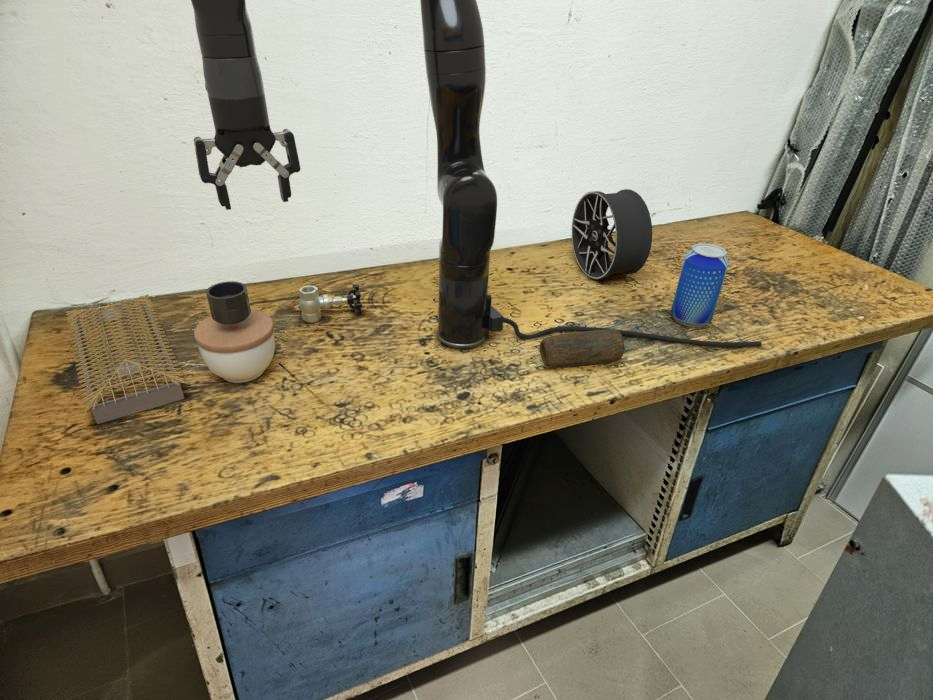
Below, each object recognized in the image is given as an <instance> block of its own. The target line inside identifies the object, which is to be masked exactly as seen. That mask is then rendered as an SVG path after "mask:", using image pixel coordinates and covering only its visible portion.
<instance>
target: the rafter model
mask: <svg viewBox="0 0 933 700" xmlns="http://www.w3.org/2000/svg"><path fill="white" fill-rule="evenodd" d="M124 300H125V301H122V302H116V303H112V304H110V303H109V302H107V305H103V306H101V304H99V305H98V307H93V308H92V306H90V307H89V308H84V309H83V308H82V307H81V309H72V310H69V311H65V313H66V314H65V315H66V316H67V317H66V321H67V323H66V324H67V327H69V328H68V330H69V331H68V333H69V334H70V335H69V337H71V338H70V341H71V342H70V343H71V344H72V345H71V347H72V348H73V349H72V352H73V355H75V356H74V357H73V359H76V360H74V363H77V364H75V367H77V368H76V371H79V372H77V373H76V375H77V376H78V377H77V379H78V380H80V379H81V380H80V381H78V384H81V385H79V386H78V387H79V388H82V389H80V393H82V392H84V393H82V394H81V395H80V396H81V397H83V398H82V399H81V402H82V404H85V403H86V404H85V405H84V406H83V409H84V413H86V412H88V411H89V410H91V412H92V415H93V417H94V419H95V422H96V424H97V425H99V424H102V423H106V422H110V421H113V420H116V419H120V418H123V417H127V416H131V415H134V414H137V413H141V412H143V411H146V410H147V411H148V410H151V409H154V408H157V407H161V406H164V405H168V404H170V403H174V402H177V401H181V400H184V399H185V396H184V395H185V394H184V392H183V389H182V385H181V383H182V384H185V385H186V384H188V382H187V381H186V378H185V377H182V376H184V374H183V371H179V370H182V368H181V367H179V366H180V364H179V363H178V360H173V359H177V358H176V356H173V355H175V353H174V352H173V348H171V346H172V345H169V344H170V341H169V338H165V337H167V335H166V334H165V333H166V332H165V331H163V330H164V328H163V325H162V324H161V321H160V319H159V318H158V317H159V316H158V315H157V312H156V309H154V308H155V307H154V306H153V303H152V300H151V299H150V296H149V294H144V295H140V296H138V297H133V298H132V299H129V300H127V299H126V298H124ZM137 336H138V337H137ZM111 343H112V344H111ZM139 343H140V344H139ZM160 351H161V352H160ZM144 354H145V355H144ZM105 360H106V361H105ZM106 364H107V365H106ZM79 375H80V376H79ZM151 378H153V379H152V380H151ZM159 380H163V381H165V382H166V384H164V385H161V386H158V384H157V381H159ZM152 382H154V384H155V386H156V387H154V388H150V389H148V388H147V384H149V383H152ZM168 382H171V383H168ZM82 383H83V384H82ZM134 383H137V384H134ZM131 384H132V385H131ZM128 385H129V386H128ZM142 385H144V386H145V390H144V391H140V392H137V390H136V387H138V386H142ZM113 388H114V390H113ZM131 388H134V392H135V393H133V394H129V395H126V391H125V390H127V389H131ZM85 391H86V392H85ZM120 391H123V394H124V396H122V397H119V398H115V394H114V393H117V392H120ZM108 394H112V396H113V399H111V400H108V401H105V400H104V397H106V395H108ZM101 400H102V402H101V403H99V402H100V401H101Z"/></svg>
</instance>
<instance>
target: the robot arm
mask: <svg viewBox="0 0 933 700" xmlns="http://www.w3.org/2000/svg"><path fill="white" fill-rule="evenodd" d="M419 1H420V16H421V27H422V29H421V30H422V42H423V54H424V63H425V72H426V80H427V87H428V93H429V100H430V107H431V112H432V117H433V122H434V127H435V132H436V133H435V134H436V147H437V149H436V151H437V157H436V158H437V170H436V171H437V172H436V173H437V174H436V175H437V176H436V191H437V197H438V200H439V201H440V204H441V207H442V230H441V231H442V234H441V239H440V241H439V243H438V316H437V317H438V319H437V339H438V341H439V342H440V343H441V344H443V345H444V346H446V347H449V348H452V349H458V350H467V349H473V348H477V347H478V346H481V345H482V344H483V343H484V342H485V341H486V340H489V339H490V333H496V332H497V333H498V332H500V331H503V328H504V324H508V325H510V326H511V327H512V329H513V332H514V334H515V336H516V337H518V338H519V339H522V340H523V339H524V340H531V339H537V338H541V337H543V336H546V335H548V334H552V333H558V332H583V331H593V330H605V329H609V328H607V327H594V326H593V327H592V326H576V325H575V326H572V325H571V326H554V327H549V328H546V329H543V330H541V331H538V332H536V333H532V334H526V333H522V332H520V329H519V325H518V323H516V322H515V321H514V320H512V319H510V318H508V317H504V315H502V313H500V311H498V310H497V309H496V307H494V306H493V305H492V300H493V298H492V297H493V296H492V294H490V293H489V277H490V276H489V275H490V261H491V250H492V248H493V246H494V242H495V236H496V235H495V232H496V224H497V222H496V221H497V214H498V193H497V189H496V186H495V184H494V183H493V181H492V180H491V179H490V177H489V176H488V175H487V173H486V170H485V166H484V165H485V164H484V161H483V153H482V145H481V136H480V135H481V134H480V133H481V132H480V130H481V129H480V125H481V118H482V111H483V104H484V99H485V92H486V82H487V75H486V74H487V67H486V66H487V65H486V48H485V47H486V46H485V35H484V27H483V21H482V18H481V13H480V9H479V5H478V3H477V2H478V1H477V0H419ZM190 2H191V5H192V9H193V14H194V24H195V31H196V35H197V40H198V45H199V51H200V54H201V61H202V72H203V78H204V87H205V90H206V93H207V97H208V102H209V107H210V112H211V117H212V121H213V126H214V131H215V132H214V133H215V134H214V137H213V138H202V137H200V136H195V137H194V138H193V145H194V151H195V158H196V163H197V170H198V175H199V178H200V180H201V182H202V183H204V184H212V185H214V186H215V191H216V195H217V199H218V202H219V204H220V206H221V207H224V208H225V210H226V211H228V210H232V206H231V200H230V196H229V192H228V186H227V184H226V181H227V179H228V178H229V175H231V173H232V172H233V170H234V168H235V166H236V167H239V168H246V167H248V166H262V165H263V164H264V163H265V162H266V163H268V165H270V166H271V167H272V169H274V170H275V171H276V172H277V173H278V175H277V183H278V189H279V194H280V200H281V201H282V202H283V203H288V202H289V198H292V188H291V183H290V177H291V175H293V174H294V173H299V172H301V163H300V158H299V154H298V148H297V144H296V143H297V142H296V139H295V135H294V133H293V132H292V131H291V130H290V129H288V128H284V129H283V130H282V131H276V132H273V131H272V129H271V124H270V118H269V113H268V105H267V99H266V93H265V87H264V81H263V76H262V71H261V67H260V64H259V61H258V56H257V50H256V49H257V48H256V44H255V43H256V42H255V37H254V33H253V32H254V31H253V27H252V23H251V18H250V15H249V12H248V9H247V1H246V0H190ZM276 142H278V143H279V144H280V145H281V146H282V148H284V149H285V153H286V158H287V163H286V164H284V165H283V164H282V163H281V162H280V161H279V160H278V159H277V158H276V157H275V156H274V155H273V154H272V153H271V151H272V150H273V148H274V145H275V144H276ZM213 148H216V149H217V150H218V151H219V152H220V153H221V154H222V156H221V159H220V161H219V163H218V167H216V170H215V172H210V168H209V162H208V156H210V155H211V154H212V150H213ZM613 329H614V330H617V331H619V332H620V333H621V334H622V336H626V337H634V338H641V339H648V340H655V341H656V340H657V341H663V342H669V343H674V344H675V343H676V344H683V345H684V344H685V345H691V346H701V347H712V348H713V347H714V348H755V347H756V348H757V347H762V345H763V343H762V341H736V342H735V341H734V342H733V341H732V342H730V341H729V342H727V341H709V340H699V339H690V338H681V337H673V336H666V335H661V334H660V335H659V334H654V333H648V332H647V333H646V332H640V331H632V330H624V329H617V328H613Z"/></svg>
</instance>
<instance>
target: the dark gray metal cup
mask: <svg viewBox="0 0 933 700" xmlns="http://www.w3.org/2000/svg"><path fill="white" fill-rule="evenodd" d="M205 293H206V299H207V303H208V307H209V311H210V316H212V319H213V320H214V321H216V322H218V323H220V324H225V325H230V324H236V323H240V322H242V321H244V320H246V319H247V318H248V316H249V315H250V313H251V310H252V309H251V304H250V299H249V293H248V288H247V285H246V284H244V283H242V282H241V281H240V282H239V281H233V280H232V281H229V280H228V281H221V282H218V283H215V284H212V285H210V286H209V287H208V288H207V289H206V290H205Z"/></svg>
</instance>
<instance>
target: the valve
mask: <svg viewBox="0 0 933 700" xmlns="http://www.w3.org/2000/svg"><path fill="white" fill-rule="evenodd" d="M351 286H352V288H353V289H351V290H349V291H348V292H347V295H346V296H345V297H342V296H334V298H332V297H329V295H328V294H322V296H320V291H319V288H318V287H316V286H314V285H304V286H301V287H300V288H299V290H298V297H299V302H298V304H299V309H300V310H301V313H300V314H301V319H302V320H303V321H304V322H306V323H316V322H318V321H319V320H321V318H322V311H321V310H322V309H323V310H325V311H327V310H330V309H331V307H333V305H335V306H342V305H343V304H346V305H347V306H349V308H350V309H351V310H355V314H356V316H359V315H362V314H363V310H362V308H363V303H362V302H361V297H362V296H361V294H362V293H361V291H360V285H359V283H352V285H351Z"/></svg>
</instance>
